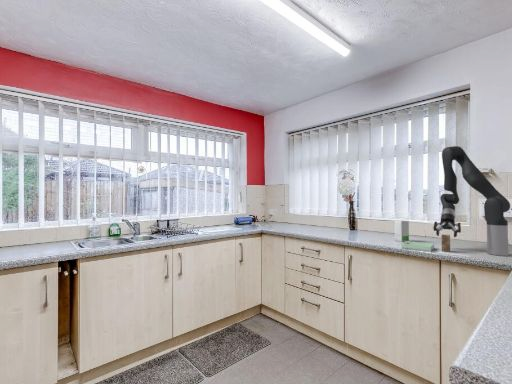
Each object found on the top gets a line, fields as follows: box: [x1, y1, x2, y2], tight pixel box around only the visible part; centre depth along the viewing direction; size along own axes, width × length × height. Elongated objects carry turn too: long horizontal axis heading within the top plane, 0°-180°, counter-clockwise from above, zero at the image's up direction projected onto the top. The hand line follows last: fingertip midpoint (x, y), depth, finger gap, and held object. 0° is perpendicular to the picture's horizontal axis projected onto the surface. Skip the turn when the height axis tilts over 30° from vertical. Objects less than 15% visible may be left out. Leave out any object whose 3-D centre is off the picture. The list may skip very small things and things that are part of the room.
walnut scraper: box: [440, 234, 451, 253], centre depth 168 cm, size 4×4×10 cm
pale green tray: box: [401, 240, 435, 253], centre depth 177 cm, size 16×14×3 cm
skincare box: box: [394, 219, 410, 243], centre depth 207 cm, size 8×7×16 cm
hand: (446, 236), depth 171 cm, fingers open, 8 cm apart
